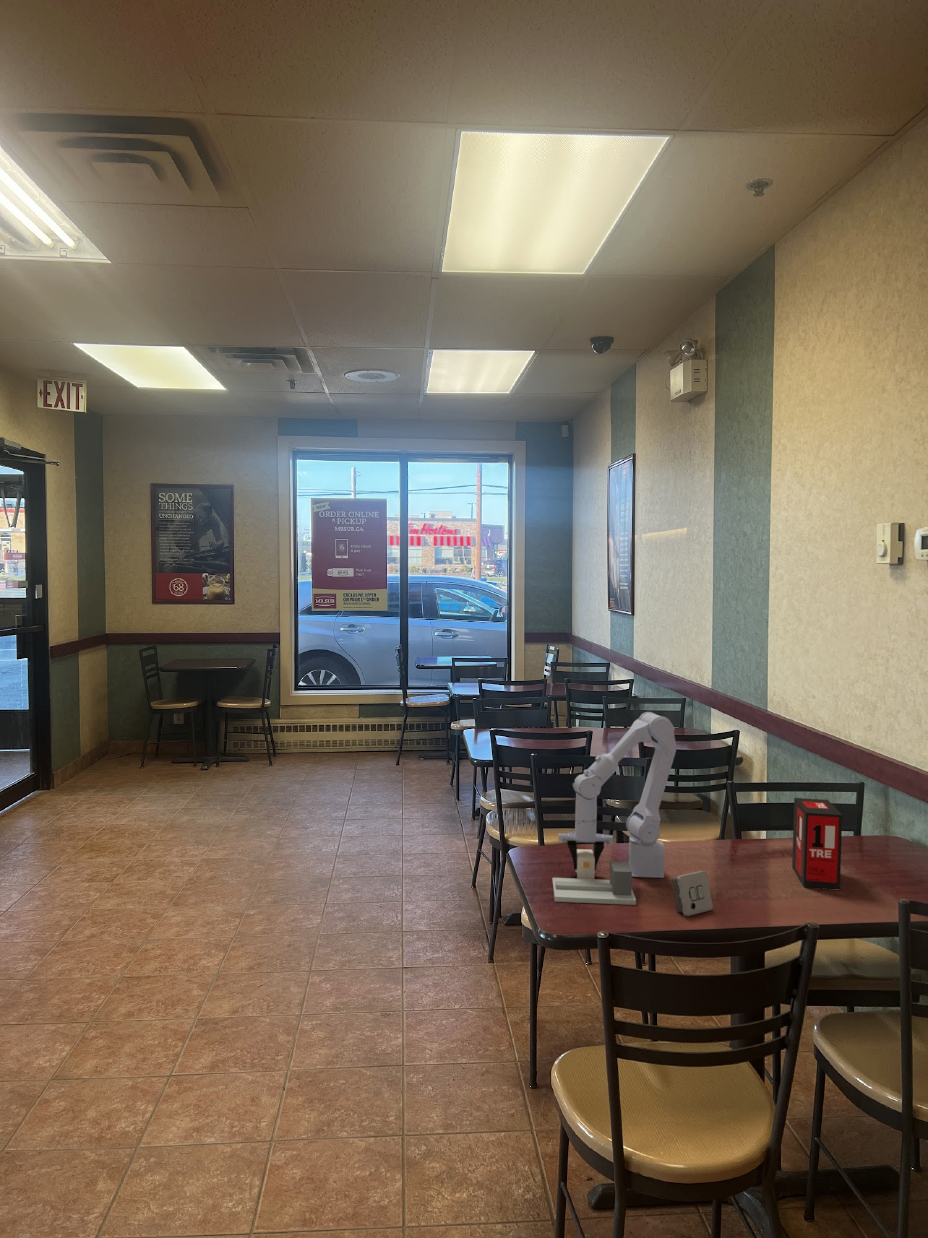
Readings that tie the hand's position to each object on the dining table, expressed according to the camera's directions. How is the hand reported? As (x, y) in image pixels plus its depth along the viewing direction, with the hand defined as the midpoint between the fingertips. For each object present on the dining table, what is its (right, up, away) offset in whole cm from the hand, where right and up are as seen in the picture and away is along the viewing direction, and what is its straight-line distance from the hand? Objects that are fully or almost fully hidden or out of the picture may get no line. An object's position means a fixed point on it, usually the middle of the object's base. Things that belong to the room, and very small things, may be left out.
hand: (584, 868), depth 224 cm
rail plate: (0, -2, -13) cm, 13 cm away
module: (0, -2, 0) cm, 2 cm away
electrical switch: (+22, -3, -23) cm, 33 cm away
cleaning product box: (+63, -3, +1) cm, 63 cm away
